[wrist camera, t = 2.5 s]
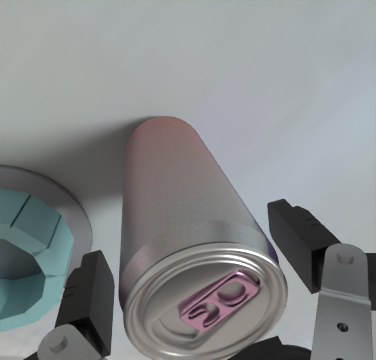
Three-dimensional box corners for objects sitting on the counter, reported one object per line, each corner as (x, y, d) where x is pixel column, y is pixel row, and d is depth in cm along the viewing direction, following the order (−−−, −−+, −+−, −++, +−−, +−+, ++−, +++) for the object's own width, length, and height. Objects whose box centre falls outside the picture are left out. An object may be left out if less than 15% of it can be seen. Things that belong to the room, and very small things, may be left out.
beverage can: (215, 150, 23) (324, 301, 10) (163, 197, 25) (200, 387, 11) (164, 96, 21) (222, 206, 8) (108, 152, 22) (75, 331, 9)
